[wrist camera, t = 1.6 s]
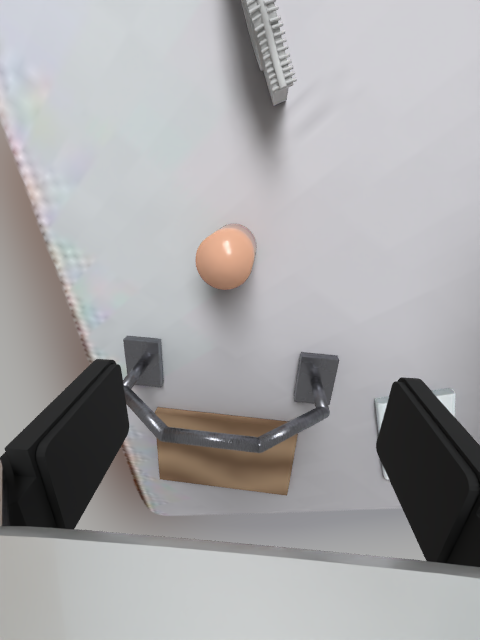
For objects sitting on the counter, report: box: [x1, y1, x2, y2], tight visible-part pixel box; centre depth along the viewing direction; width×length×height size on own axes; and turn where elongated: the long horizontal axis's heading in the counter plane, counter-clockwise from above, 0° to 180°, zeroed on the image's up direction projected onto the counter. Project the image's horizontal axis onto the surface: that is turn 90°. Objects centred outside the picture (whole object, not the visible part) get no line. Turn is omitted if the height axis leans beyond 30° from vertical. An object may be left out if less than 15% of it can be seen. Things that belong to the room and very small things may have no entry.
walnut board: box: [155, 407, 298, 495], centre depth 39 cm, size 12×18×1 cm, turn 87°
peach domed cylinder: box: [196, 224, 257, 290], centre depth 26 cm, size 4×4×7 cm
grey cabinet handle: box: [123, 336, 339, 453], centre depth 29 cm, size 6×24×12 cm, turn 87°
